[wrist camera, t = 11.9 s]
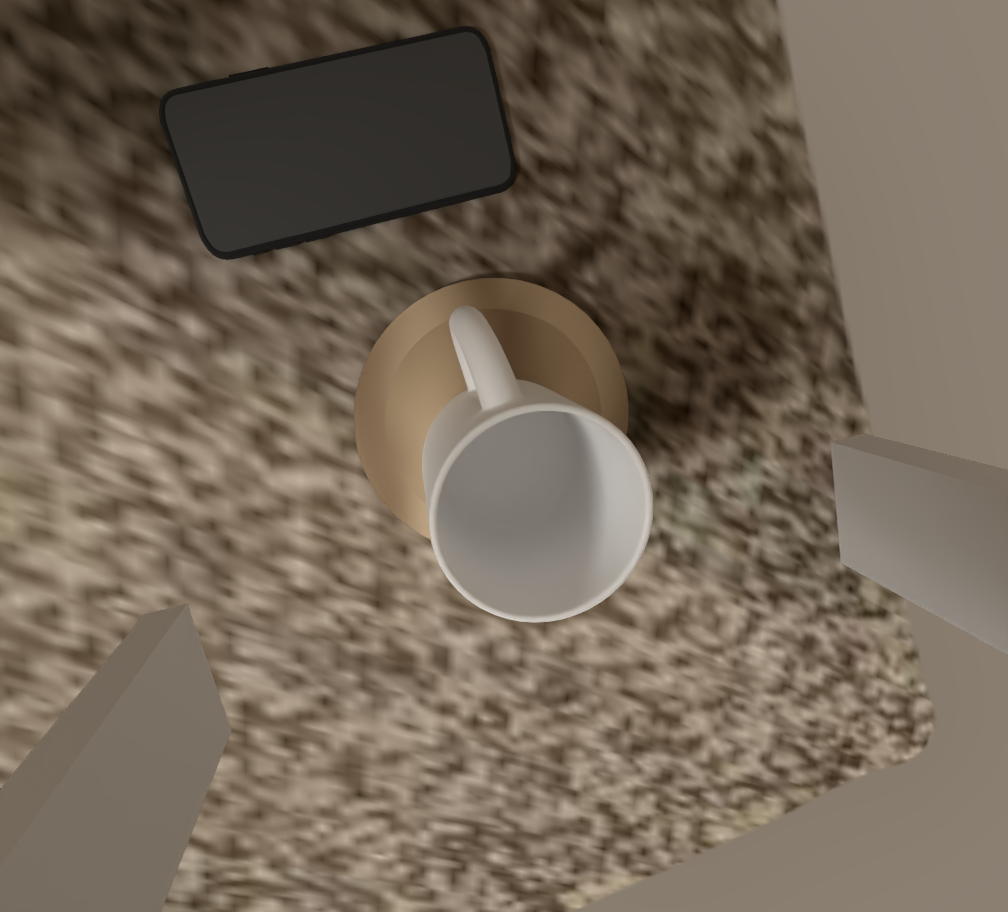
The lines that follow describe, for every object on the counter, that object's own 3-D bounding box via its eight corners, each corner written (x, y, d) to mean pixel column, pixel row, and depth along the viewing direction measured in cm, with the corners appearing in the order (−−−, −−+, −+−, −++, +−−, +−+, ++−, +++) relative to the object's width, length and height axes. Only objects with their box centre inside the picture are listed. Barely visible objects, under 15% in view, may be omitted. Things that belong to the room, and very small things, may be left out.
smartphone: (523, 187, 32) (208, 265, 30) (519, 190, 32) (214, 267, 31) (484, 17, 30) (146, 90, 28) (481, 26, 31) (154, 97, 29)
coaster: (392, 576, 35) (392, 582, 34) (322, 310, 32) (320, 310, 31) (643, 513, 36) (648, 517, 36) (600, 252, 33) (605, 251, 32)
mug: (371, 333, 32) (357, 341, 22) (534, 280, 32) (594, 265, 22) (451, 556, 34) (471, 654, 24) (599, 503, 35) (677, 579, 25)
